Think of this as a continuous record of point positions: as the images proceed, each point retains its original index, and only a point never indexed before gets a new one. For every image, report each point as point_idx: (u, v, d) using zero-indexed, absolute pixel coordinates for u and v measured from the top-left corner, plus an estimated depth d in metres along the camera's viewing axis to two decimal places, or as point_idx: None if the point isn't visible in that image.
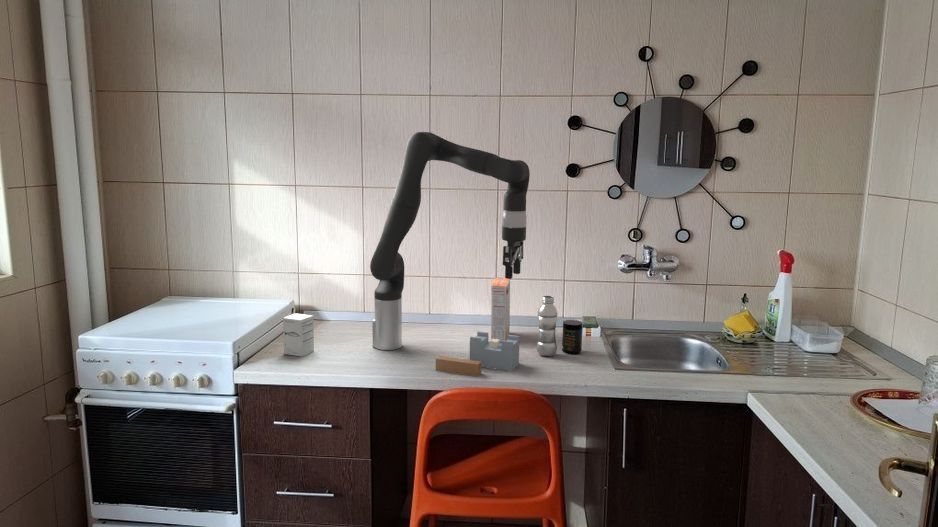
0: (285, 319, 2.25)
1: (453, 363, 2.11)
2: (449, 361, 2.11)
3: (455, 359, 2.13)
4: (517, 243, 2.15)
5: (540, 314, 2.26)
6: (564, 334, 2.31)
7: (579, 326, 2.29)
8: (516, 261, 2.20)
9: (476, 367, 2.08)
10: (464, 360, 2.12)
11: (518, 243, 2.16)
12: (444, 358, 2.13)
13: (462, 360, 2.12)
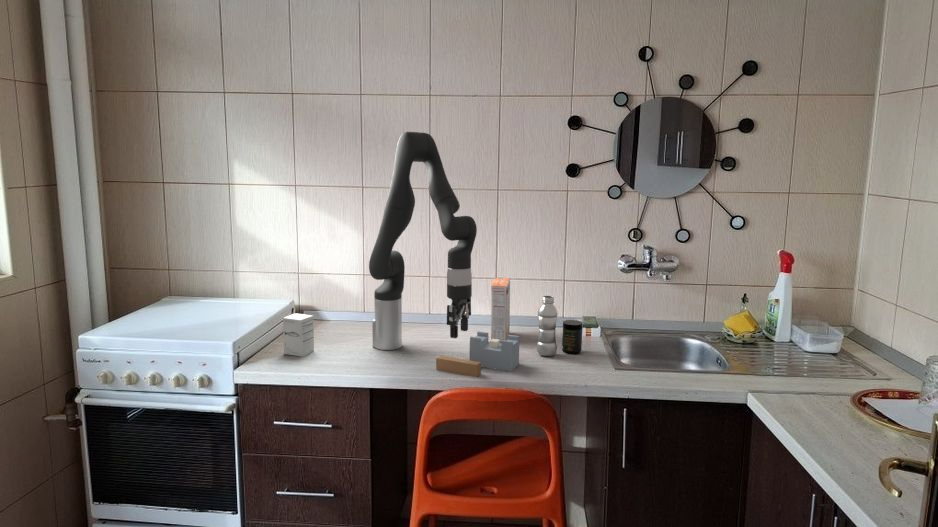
0: (285, 319, 2.25)
1: (453, 362, 2.11)
2: (449, 361, 2.12)
3: (456, 358, 2.13)
4: (463, 300, 2.09)
5: (540, 314, 2.26)
6: (564, 334, 2.31)
7: (579, 326, 2.29)
8: (463, 318, 2.13)
9: (475, 368, 2.08)
10: (464, 360, 2.12)
11: (464, 300, 2.10)
12: (444, 358, 2.13)
13: (462, 360, 2.12)
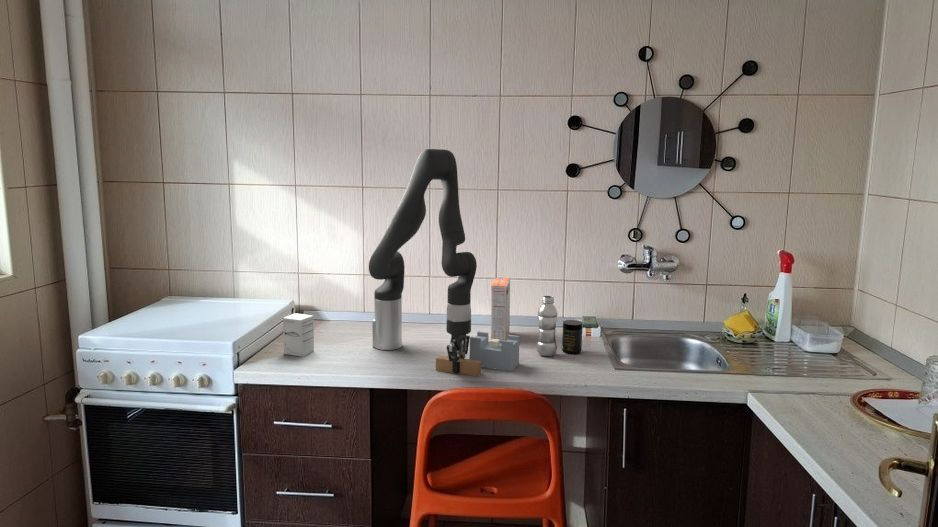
0: (285, 319, 2.25)
1: None
2: None
3: None
4: (462, 335, 2.10)
5: (540, 314, 2.26)
6: (564, 334, 2.31)
7: (579, 326, 2.29)
8: (459, 356, 2.13)
9: (476, 367, 2.08)
10: (464, 359, 2.12)
11: (463, 335, 2.11)
12: (444, 357, 2.13)
13: (462, 359, 2.12)
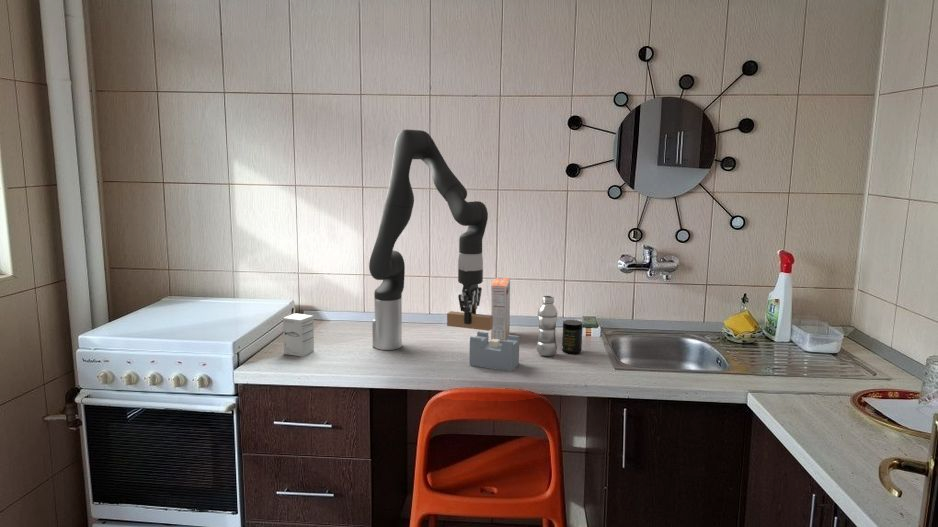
0: (285, 319, 2.25)
1: None
2: (460, 315, 2.11)
3: None
4: (474, 286, 2.10)
5: (540, 314, 2.26)
6: (564, 334, 2.31)
7: (579, 326, 2.29)
8: (471, 307, 2.12)
9: (487, 321, 2.08)
10: (475, 314, 2.11)
11: (475, 285, 2.11)
12: (455, 313, 2.13)
13: (473, 314, 2.11)
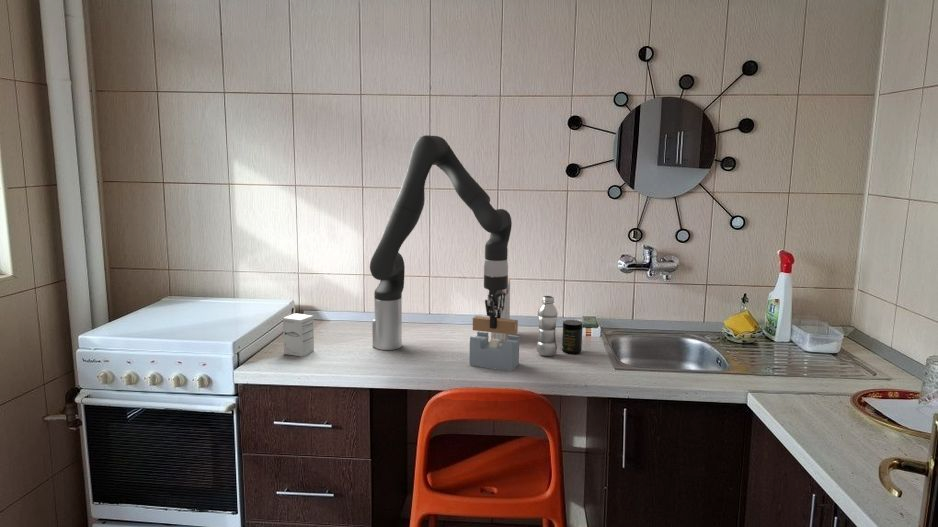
0: (285, 319, 2.25)
1: None
2: (486, 320, 2.17)
3: None
4: (499, 291, 2.16)
5: (540, 314, 2.26)
6: (564, 334, 2.31)
7: (579, 326, 2.29)
8: (496, 312, 2.18)
9: (513, 325, 2.14)
10: (500, 318, 2.17)
11: (500, 291, 2.17)
12: (481, 317, 2.19)
13: (498, 318, 2.17)
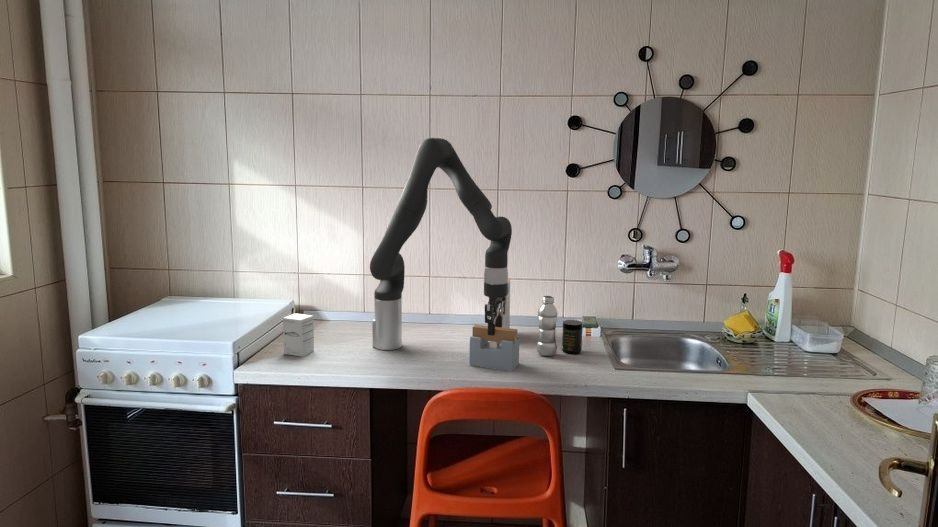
0: (285, 319, 2.25)
1: None
2: (486, 329, 2.17)
3: None
4: (499, 298, 2.16)
5: (540, 314, 2.26)
6: (564, 334, 2.31)
7: (579, 326, 2.29)
8: (498, 317, 2.20)
9: (513, 335, 2.14)
10: (500, 328, 2.18)
11: (500, 298, 2.17)
12: (481, 326, 2.19)
13: (498, 327, 2.18)
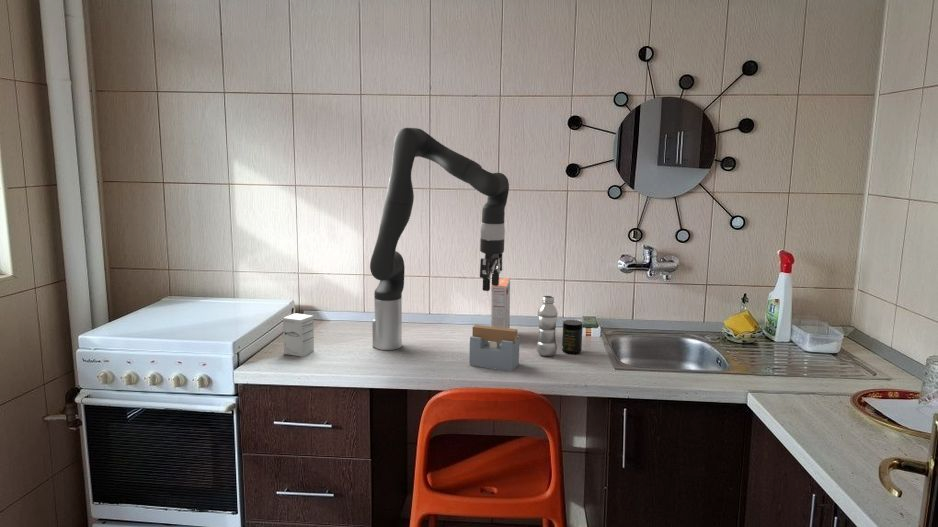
0: (285, 319, 2.25)
1: (490, 330, 2.17)
2: (486, 329, 2.17)
3: (492, 327, 2.19)
4: (495, 255, 2.15)
5: (540, 314, 2.26)
6: (564, 334, 2.31)
7: (579, 326, 2.29)
8: (495, 273, 2.20)
9: (513, 335, 2.14)
10: (500, 328, 2.18)
11: (496, 255, 2.16)
12: (481, 326, 2.19)
13: (498, 327, 2.18)
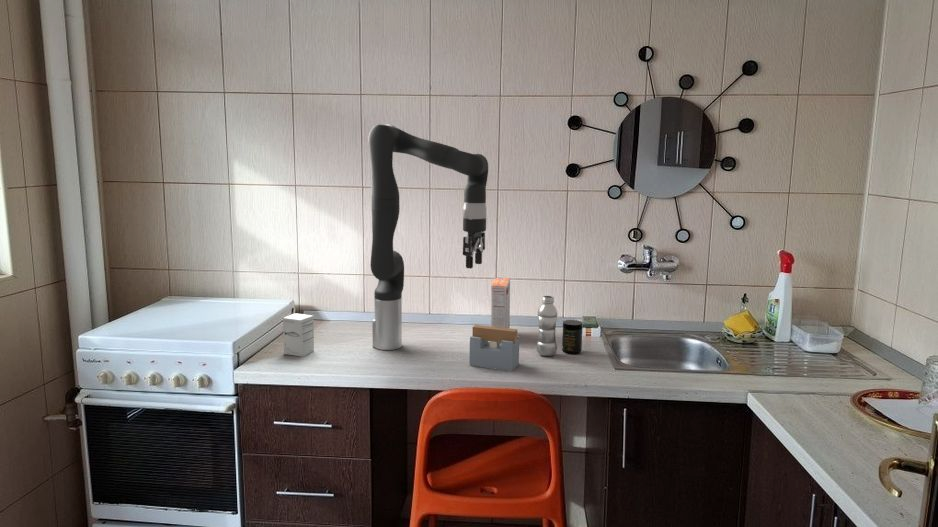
0: (285, 319, 2.25)
1: (490, 330, 2.17)
2: (486, 329, 2.17)
3: (492, 327, 2.19)
4: (478, 234, 2.23)
5: (540, 314, 2.26)
6: (564, 334, 2.31)
7: (579, 326, 2.29)
8: (478, 252, 2.28)
9: (513, 335, 2.14)
10: (500, 328, 2.18)
11: (479, 234, 2.24)
12: (481, 326, 2.19)
13: (498, 327, 2.18)
